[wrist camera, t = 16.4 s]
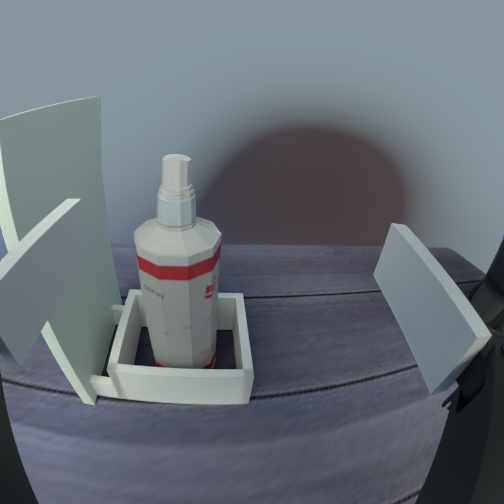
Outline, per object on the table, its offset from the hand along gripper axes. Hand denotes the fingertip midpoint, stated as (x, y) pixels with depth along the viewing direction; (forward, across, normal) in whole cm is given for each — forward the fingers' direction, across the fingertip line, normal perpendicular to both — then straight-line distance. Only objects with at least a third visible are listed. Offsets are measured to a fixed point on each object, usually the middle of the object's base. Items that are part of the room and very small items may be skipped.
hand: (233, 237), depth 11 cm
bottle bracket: (+13, -7, -25) cm, 29 cm away
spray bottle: (+12, -5, -25) cm, 28 cm away
